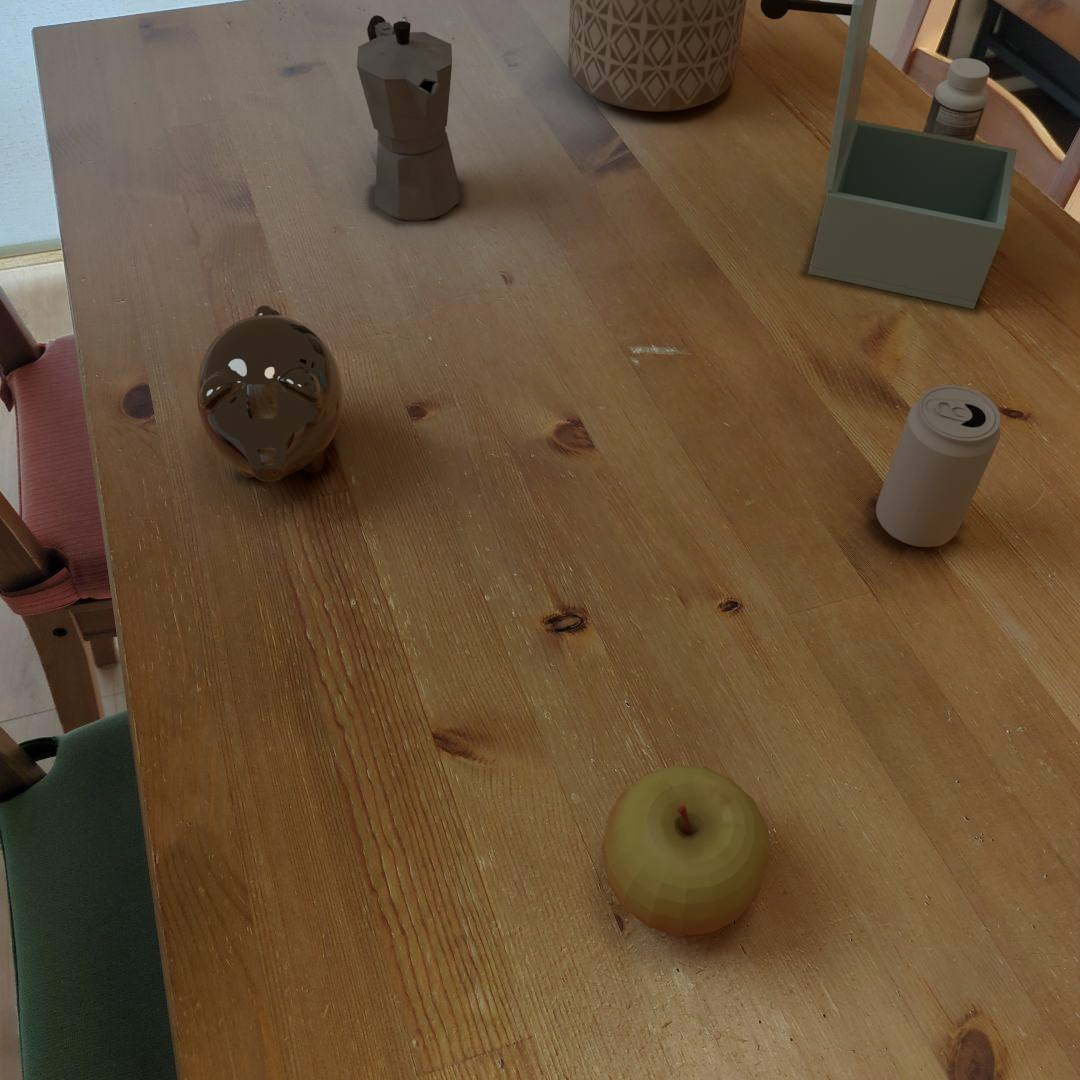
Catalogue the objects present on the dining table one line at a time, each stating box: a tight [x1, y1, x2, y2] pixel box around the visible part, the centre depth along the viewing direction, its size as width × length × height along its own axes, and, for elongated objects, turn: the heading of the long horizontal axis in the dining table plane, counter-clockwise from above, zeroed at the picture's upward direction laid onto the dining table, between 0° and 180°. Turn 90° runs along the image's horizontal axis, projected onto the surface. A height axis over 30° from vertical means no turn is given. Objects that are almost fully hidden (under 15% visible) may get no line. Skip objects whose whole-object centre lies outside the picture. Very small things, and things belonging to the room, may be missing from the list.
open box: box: [807, 119, 1017, 310], centre depth 106 cm, size 16×14×9 cm
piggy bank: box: [195, 305, 344, 483], centre depth 87 cm, size 11×15×12 cm
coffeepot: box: [356, 14, 460, 222], centre depth 108 cm, size 15×9×18 cm, turn 26°
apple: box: [601, 764, 771, 937], centre depth 66 cm, size 10×10×8 cm
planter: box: [567, 0, 748, 112], centre depth 123 cm, size 19×19×16 cm
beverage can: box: [875, 384, 1001, 548], centre depth 83 cm, size 6×6×12 cm
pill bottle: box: [922, 57, 991, 142], centre depth 117 cm, size 5×5×10 cm
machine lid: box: [760, 0, 878, 191], centre depth 99 cm, size 16×14×9 cm
